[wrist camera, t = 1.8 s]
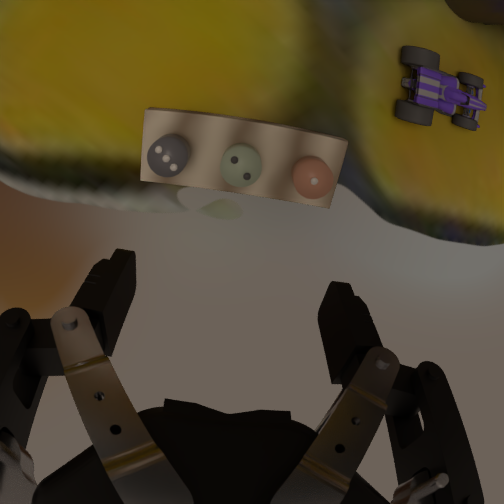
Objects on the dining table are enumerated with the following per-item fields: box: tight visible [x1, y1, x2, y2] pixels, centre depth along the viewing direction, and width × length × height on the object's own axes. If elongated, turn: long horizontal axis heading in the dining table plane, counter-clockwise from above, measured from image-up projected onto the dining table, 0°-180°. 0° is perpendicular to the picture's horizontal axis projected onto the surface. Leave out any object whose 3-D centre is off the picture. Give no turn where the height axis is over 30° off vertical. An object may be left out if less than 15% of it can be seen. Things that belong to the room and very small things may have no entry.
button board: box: [141, 107, 348, 208], centre depth 37 cm, size 24×9×2 cm, turn 80°
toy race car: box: [395, 46, 487, 131], centre depth 30 cm, size 10×15×6 cm, turn 88°
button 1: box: [291, 156, 334, 199], centre depth 35 cm, size 4×4×3 cm
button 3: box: [147, 134, 190, 177], centre depth 33 cm, size 4×4×3 cm
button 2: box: [220, 143, 262, 187], centre depth 34 cm, size 4×4×3 cm
